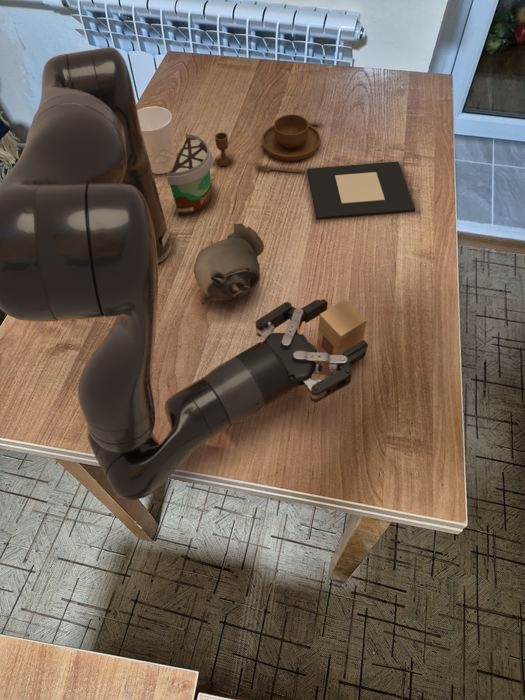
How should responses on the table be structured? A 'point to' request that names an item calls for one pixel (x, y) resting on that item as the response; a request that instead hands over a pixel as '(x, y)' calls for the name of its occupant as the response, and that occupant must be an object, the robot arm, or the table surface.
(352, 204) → the mat
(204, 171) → the food container
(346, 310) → the tan block
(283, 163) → the table surface
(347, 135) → the table surface
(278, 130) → the place setting
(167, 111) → the white cup
